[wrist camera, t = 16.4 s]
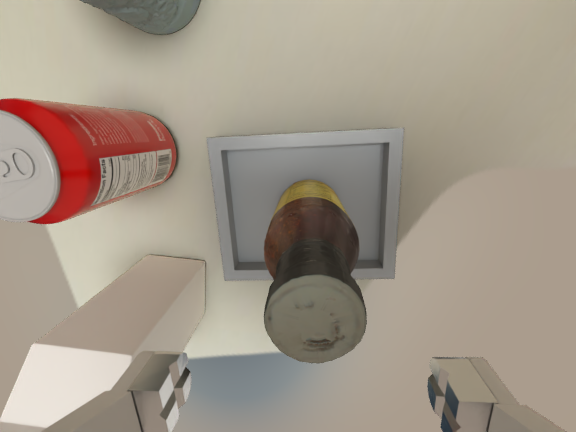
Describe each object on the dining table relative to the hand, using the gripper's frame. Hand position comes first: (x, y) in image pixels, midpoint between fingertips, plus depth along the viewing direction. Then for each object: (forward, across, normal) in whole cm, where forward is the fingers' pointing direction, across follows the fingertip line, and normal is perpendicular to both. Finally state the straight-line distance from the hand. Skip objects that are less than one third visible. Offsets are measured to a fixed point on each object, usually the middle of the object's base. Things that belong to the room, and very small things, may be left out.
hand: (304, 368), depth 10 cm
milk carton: (+22, +16, +10) cm, 29 cm away
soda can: (+22, +17, -6) cm, 29 cm away
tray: (+22, 0, 0) cm, 22 cm away
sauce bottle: (+22, 0, 0) cm, 22 cm away
